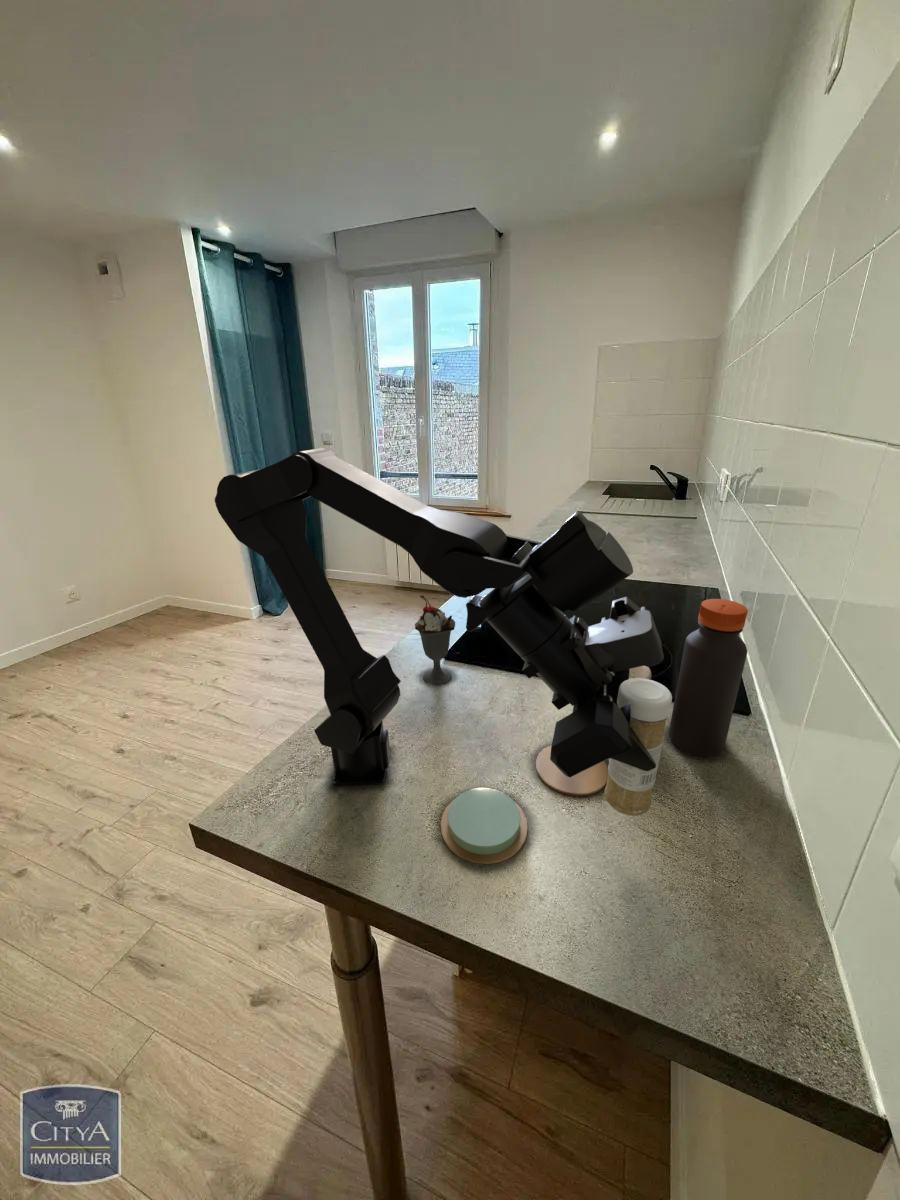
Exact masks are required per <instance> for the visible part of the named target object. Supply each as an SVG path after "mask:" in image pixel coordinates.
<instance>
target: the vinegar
mask: <svg viewBox="0 0 900 1200" xmlns="http://www.w3.org/2000/svg"><path fill="white" fill-rule="evenodd" d="M748 610H749V609H748V608H747V607H746V606H745V605H744V604H741V603H739V602H737V601H734V600H730V599H724V598H707V599H705V600H702V601H701V603H700V607H699V613H698V618H697V625H698V626H699V628H697V629H695V630H694V631H692V632H690V633H689V634H688V635H687V636H686V637H685V640H684V646H683V653H682V658H681V664H680V668H679V674H678V680H677V684H676V691H675V696H674V701H673V706H672V710H671V717H670V722H669V727H668V737H669V739H670V740H671V742H672V743H673V744H674V745H675V747H677V748H679V749H680V750H682V751H683V752H686V753H688V754H690V755H692V756H693V755H694V756H696V757H697V756H698V757H704V758H705V757H714V756H715V757H716V756H718V755H719V754H721V753H723V751H724V749H725V746H726V742H727V738H728V734H729V731H730V726H731V722H732V717H733V714H734V709H735V705H736V701H737V697H738V693H739V689H740V685H741V681H742V676H743V672H744V669H745V664H746V660H747V656H748V647H747V644H746V643H745V642H744V640H743V639H742V638H741V637H740V634H741V633H742V632H743V630H744V628H745V624H746V620H747V615H748Z"/></svg>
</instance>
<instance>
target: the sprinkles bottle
mask: <svg viewBox="0 0 900 1200" xmlns="http://www.w3.org/2000/svg"><path fill="white" fill-rule="evenodd" d="M672 701H673V695H672V692H671V691H670V690H669V689H668V687H666V686H665V685H663V684H662V683H660V682H658V681H656V680H653V679H652V680H649V679H644V678H632V679H628V680H625V681H624V682H622V683H621V685H620V687H619V691H618V697H617V705H618V707H619V708H621V707H623V706H625V705H627V704H629V703H630V705H631V726H630V727H631V728H632V729H633V731H634V732H635V734H636V735H637V737H638V738H639V739H640V741H641V742H642V744H643V745H644V746H645V748H646V749H647V751H648V752H649V754H650V755H651V757H652V758H653V760H654V762H655V763H656V768H654V769H652V770H650V771H644V770H641V769H638V768H636V767H633V766H630V765H627V764H625V763H622V762H619V761H617V760H614V759H611V758H609V760H608V766H607V767H608V779H607V783H606V785H605V786H604V787H605V788H604V798H605V801H606V803H608V805H609V806H610V807H611V808H612V809H613V810H615V811H616V812H617V813H621V814H622V815H626V816H631V817H638V816H639V817H640V816H642V815H644V814H646V813H647V812H648V811H649V810H650V808H651V805H652V799H651V798H652V794H653V788H654V785H655V783H656V779H657V774H658V769H659V764H660V758H661V753H662V749H663V743H664V733H665V727H666V723H667V720H668V718H669V715H670V713H671V709H672Z"/></svg>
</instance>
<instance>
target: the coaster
mask: <svg viewBox="0 0 900 1200" xmlns="http://www.w3.org/2000/svg"><path fill="white" fill-rule="evenodd" d="M551 746H552V744H551V745H548V746H546V747H545V748H543V749H542V750H541V751H540V752H539V753H538V754H537V757H536V759H535V769H536V772H537V773H536V774H538V776H539V778H540V779H541V781H542V782H543V783H544V784H546V785H547V786H548V787H550V788H551V789H552V790H555V791H557V792H560V793H562V794H565V795H569V796H570V795H571V796H589V795H593V794H595V793H598V792H599V791H601V790H602V789H603V788H604V787H606V785H607V779H608V767H609V766H608V765H607V763H606V760H604V761H602V762H600V763H598V764H596V765H594V766H592V767H590V768H588V769H586V770H584V771H582V772H580V773H578V774H576V775H574V776H572V777H567V776H565V775H564V774H563V773H562V772H561V771H560V770H559V768H558V767H557V766H556V765H555V764H554V763H553V762H552V761H551V760H550V756H551Z"/></svg>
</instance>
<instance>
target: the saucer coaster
mask: <svg viewBox="0 0 900 1200" xmlns="http://www.w3.org/2000/svg"><path fill="white" fill-rule="evenodd" d="M452 802H453V800H451V801H450V802H449V803H448V805H447V806H446V807H445V809H444V811H443V813H442V815H441V819H440V833H441V836H442V839H443V841H444V843H445V844H446V846H447V847H448V849H449V850H450V851H451V852H452V853H453V854H455V855H456V856H458V857H459V858H461V859H463V860H464V861H468V862H470V863H474V864H481V865H491V864H497V863H502V862H504V861H506V860H508V859H510V858H512V857H513V856H514V855H516V854H517V853H518V852H519V851H520V850H521V849H522V847H523V846H524V844H525V842H526V839H527V836H528V820H527V817H526V815H525V813H524V811H523V809H522V807H521V806H520V805H519V804H518V803H517V802H515V804H516V805H517V807H518V809H519V812H520V831H519V835H518V837H517V839H516V840H515V842H514V843H513V844H512V845H511V846H510V847H509V848H507V849H506V850H504V851H502V852H499V853H496V854H490V855H481V854H475V853H472V852H469V851H467V850H465V849H463V848H462V847H460V846H459V845H458V844H457V843H456V842H455V841H454V840H453V838H452V837H451V835H450V833H449V829H448V810H449V807H450V805H451V803H452Z"/></svg>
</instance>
